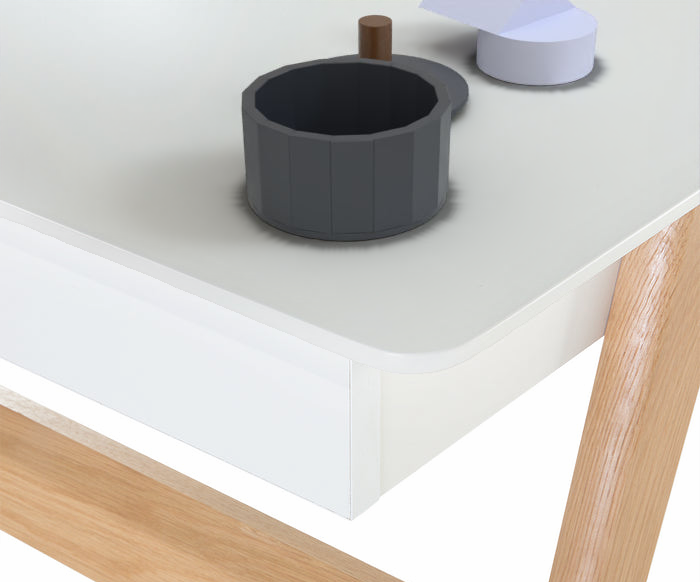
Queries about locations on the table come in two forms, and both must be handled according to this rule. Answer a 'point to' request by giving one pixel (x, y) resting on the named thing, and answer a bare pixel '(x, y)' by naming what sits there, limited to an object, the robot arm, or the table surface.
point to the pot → (346, 147)
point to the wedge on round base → (527, 38)
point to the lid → (405, 57)
